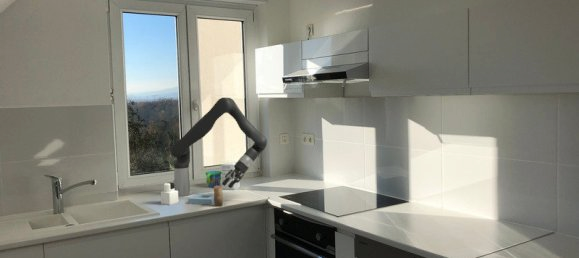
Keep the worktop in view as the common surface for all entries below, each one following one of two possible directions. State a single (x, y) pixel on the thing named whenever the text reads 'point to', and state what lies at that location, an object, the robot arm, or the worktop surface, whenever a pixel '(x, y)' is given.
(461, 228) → the worktop surface
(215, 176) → the snack cup
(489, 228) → the worktop surface
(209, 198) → the socket block
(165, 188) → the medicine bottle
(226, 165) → the supplement box
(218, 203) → the walnut peg
